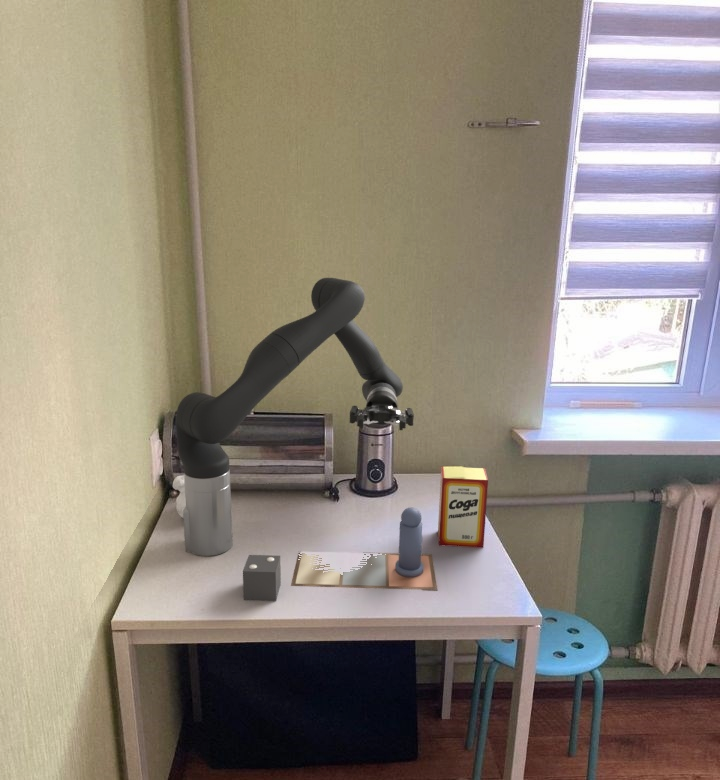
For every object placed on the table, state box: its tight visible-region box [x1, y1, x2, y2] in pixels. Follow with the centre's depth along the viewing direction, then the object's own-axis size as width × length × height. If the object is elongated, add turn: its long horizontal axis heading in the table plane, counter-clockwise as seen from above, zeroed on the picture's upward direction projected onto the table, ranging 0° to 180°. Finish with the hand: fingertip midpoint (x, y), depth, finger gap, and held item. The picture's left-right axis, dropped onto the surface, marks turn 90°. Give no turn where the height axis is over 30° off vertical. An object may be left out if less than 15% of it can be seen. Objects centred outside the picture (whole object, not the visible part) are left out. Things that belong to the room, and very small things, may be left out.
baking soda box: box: [437, 465, 489, 548], centre depth 144 cm, size 10×6×16 cm
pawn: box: [395, 506, 424, 578], centre depth 132 cm, size 6×6×14 cm
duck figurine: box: [172, 474, 186, 519], centre depth 154 cm, size 12×8×11 cm
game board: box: [290, 552, 438, 591], centre depth 133 cm, size 28×14×1 cm, turn 89°
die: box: [242, 554, 282, 602], centre depth 124 cm, size 6×6×6 cm
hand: (381, 425), depth 143 cm, fingers open, 8 cm apart
